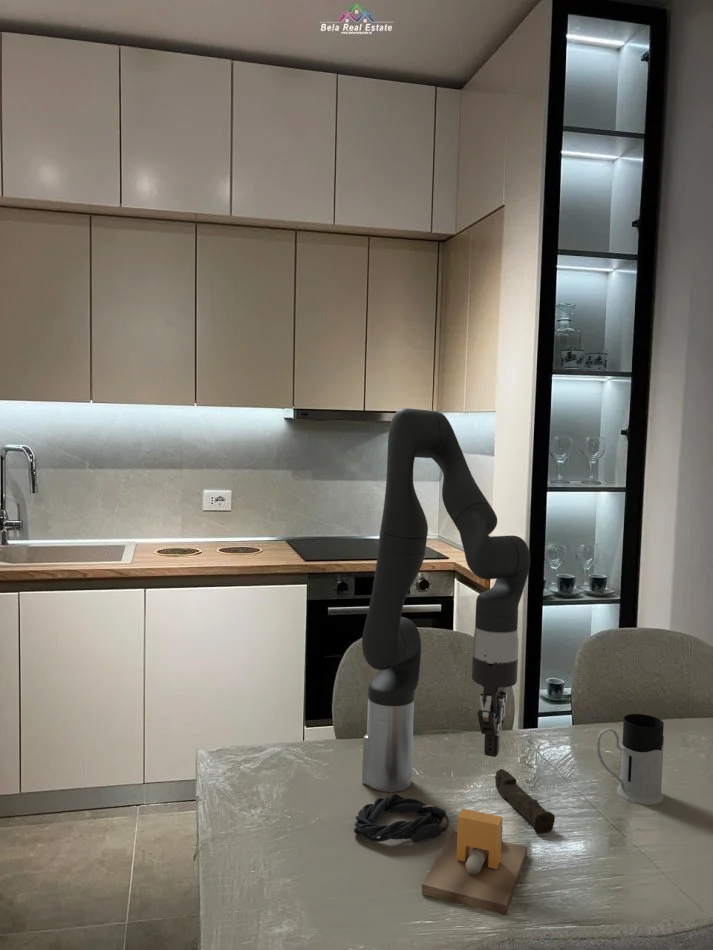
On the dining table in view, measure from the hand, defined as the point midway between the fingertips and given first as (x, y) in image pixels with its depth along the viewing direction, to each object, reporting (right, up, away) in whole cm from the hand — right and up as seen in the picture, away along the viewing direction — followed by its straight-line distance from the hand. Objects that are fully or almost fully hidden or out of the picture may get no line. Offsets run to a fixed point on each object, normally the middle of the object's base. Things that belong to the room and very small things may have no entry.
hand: (491, 754), depth 134 cm
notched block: (-3, -15, -6) cm, 16 cm away
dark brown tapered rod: (+8, -16, +16) cm, 24 cm away
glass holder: (+31, -16, +23) cm, 42 cm away
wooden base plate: (-3, -17, -6) cm, 18 cm away
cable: (-16, -16, +8) cm, 24 cm away
